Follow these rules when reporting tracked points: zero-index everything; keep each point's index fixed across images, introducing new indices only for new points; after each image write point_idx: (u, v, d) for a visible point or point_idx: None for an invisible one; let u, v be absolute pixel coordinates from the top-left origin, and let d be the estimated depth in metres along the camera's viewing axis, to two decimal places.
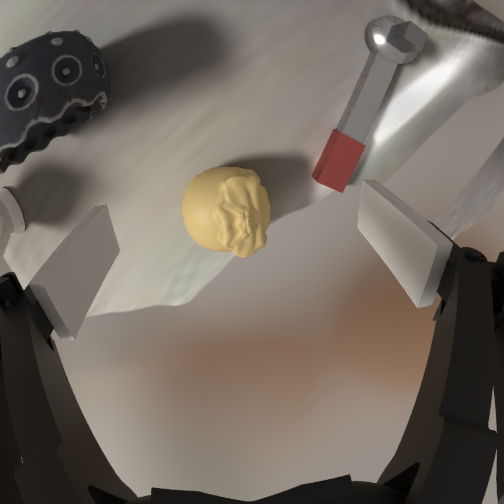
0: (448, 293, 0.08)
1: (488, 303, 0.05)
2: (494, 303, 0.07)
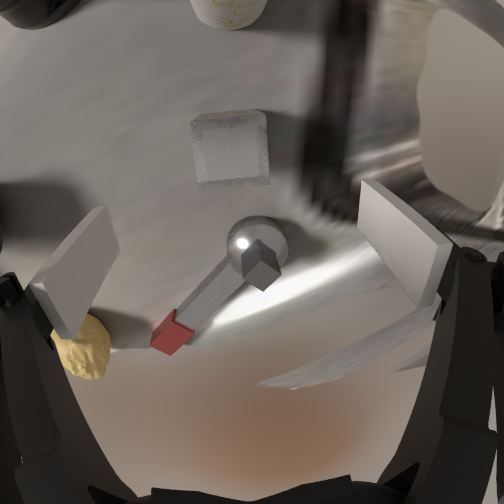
0: (448, 293, 0.08)
1: (488, 303, 0.05)
2: (494, 303, 0.07)
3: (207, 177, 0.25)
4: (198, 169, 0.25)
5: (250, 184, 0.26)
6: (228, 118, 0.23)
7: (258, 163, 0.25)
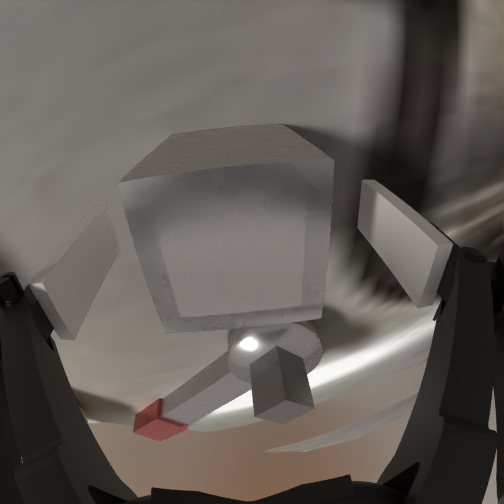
0: (448, 293, 0.08)
1: (488, 303, 0.05)
2: (494, 303, 0.07)
3: (180, 310, 0.11)
4: (156, 294, 0.10)
5: (279, 321, 0.11)
6: (225, 168, 0.08)
7: (302, 281, 0.10)
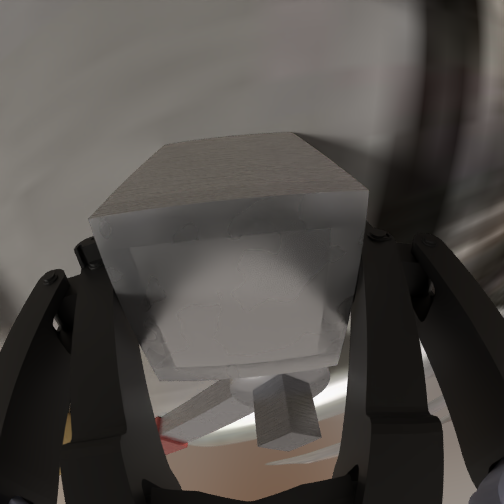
0: (357, 278, 0.09)
1: (401, 282, 0.07)
2: (410, 287, 0.09)
3: (174, 361, 0.09)
4: (146, 345, 0.08)
5: (290, 370, 0.09)
6: (227, 201, 0.06)
7: (319, 331, 0.08)
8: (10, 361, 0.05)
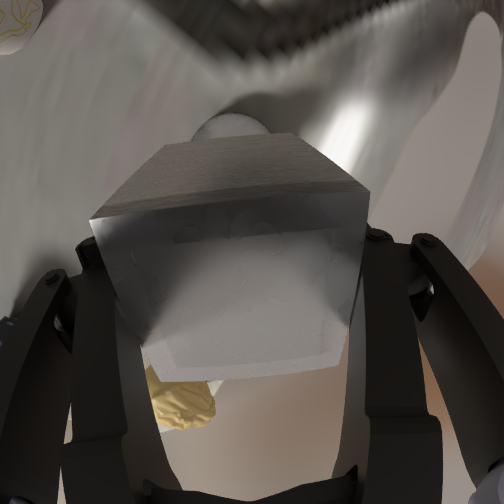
0: None
1: (400, 282, 0.07)
2: (409, 286, 0.09)
3: (175, 361, 0.09)
4: (147, 345, 0.08)
5: (291, 370, 0.09)
6: (228, 202, 0.06)
7: (320, 332, 0.08)
8: (11, 361, 0.05)
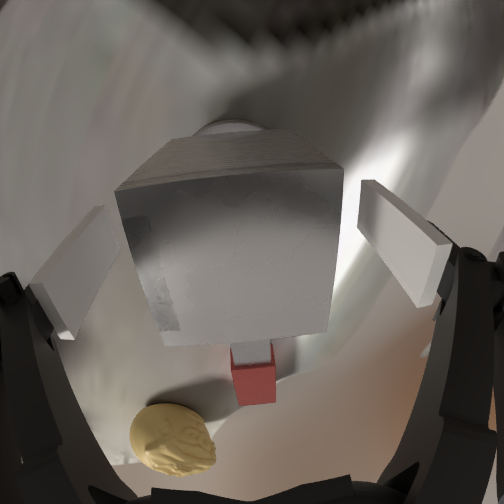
0: (448, 293, 0.08)
1: (488, 303, 0.05)
2: (494, 303, 0.07)
3: (180, 323, 0.10)
4: (155, 307, 0.10)
5: (283, 334, 0.11)
6: (229, 176, 0.08)
7: (307, 295, 0.10)
8: None
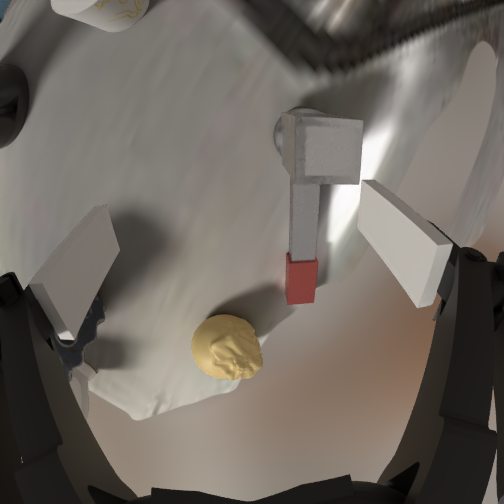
0: (448, 293, 0.08)
1: (488, 303, 0.05)
2: (494, 303, 0.07)
3: (305, 171, 0.26)
4: (298, 163, 0.26)
5: (343, 182, 0.27)
6: (331, 118, 0.23)
7: (352, 163, 0.26)
8: None
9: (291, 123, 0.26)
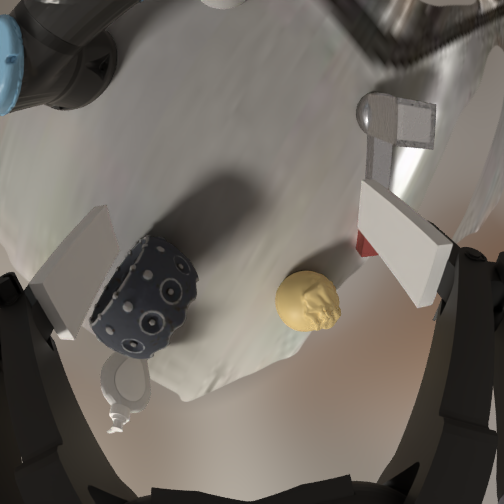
0: (448, 293, 0.08)
1: (488, 303, 0.05)
2: (494, 303, 0.07)
3: (402, 137, 0.31)
4: (398, 130, 0.30)
5: (424, 147, 0.31)
6: (418, 101, 0.28)
7: (429, 134, 0.30)
8: None
9: (388, 102, 0.30)
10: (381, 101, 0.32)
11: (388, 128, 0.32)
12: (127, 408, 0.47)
